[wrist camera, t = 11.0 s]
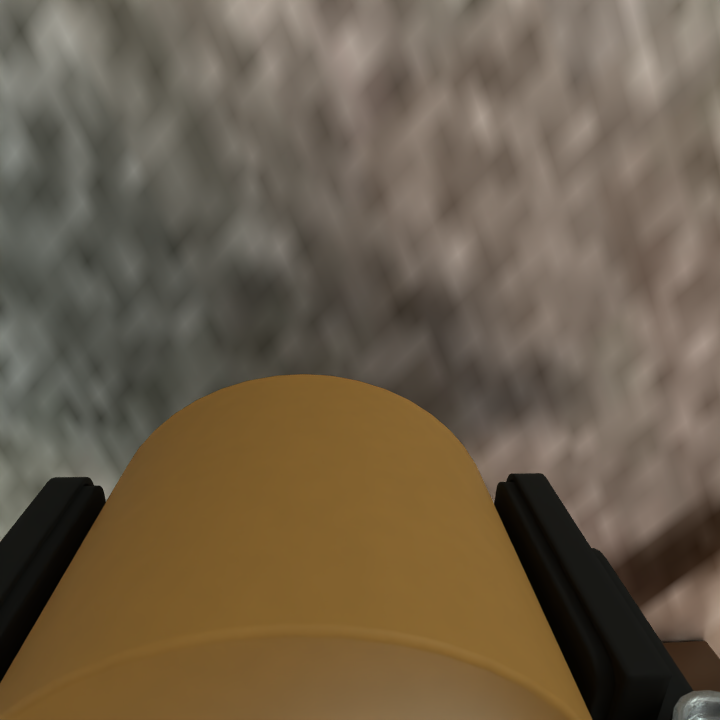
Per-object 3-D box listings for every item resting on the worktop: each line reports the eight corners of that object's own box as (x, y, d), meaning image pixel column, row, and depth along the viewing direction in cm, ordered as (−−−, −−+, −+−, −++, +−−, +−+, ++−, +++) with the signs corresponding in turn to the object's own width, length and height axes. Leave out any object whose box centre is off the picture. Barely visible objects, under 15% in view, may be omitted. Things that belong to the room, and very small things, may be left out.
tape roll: (137, 679, 11) (8, 1063, 6) (83, 371, 8) (-190, 646, 4) (469, 668, 11) (564, 1019, 7) (512, 371, 9) (708, 620, 4)
